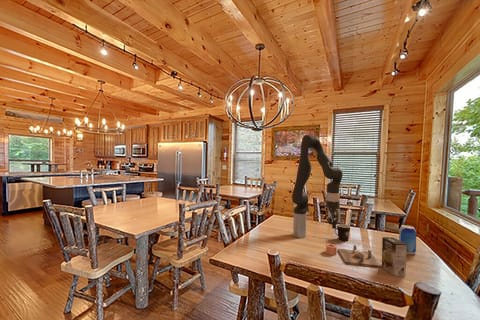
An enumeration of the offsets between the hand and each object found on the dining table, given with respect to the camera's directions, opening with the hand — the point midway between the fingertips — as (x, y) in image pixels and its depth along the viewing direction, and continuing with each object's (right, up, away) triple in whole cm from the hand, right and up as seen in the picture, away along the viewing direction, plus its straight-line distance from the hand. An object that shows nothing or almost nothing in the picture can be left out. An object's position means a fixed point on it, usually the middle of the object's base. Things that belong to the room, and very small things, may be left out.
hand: (332, 226), depth 131 cm
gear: (-1, -16, 0) cm, 16 cm away
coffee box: (+23, -17, -20) cm, 35 cm away
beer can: (+49, -18, +4) cm, 52 cm away
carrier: (+12, -17, -7) cm, 22 cm away
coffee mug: (+16, -17, +23) cm, 33 cm away
